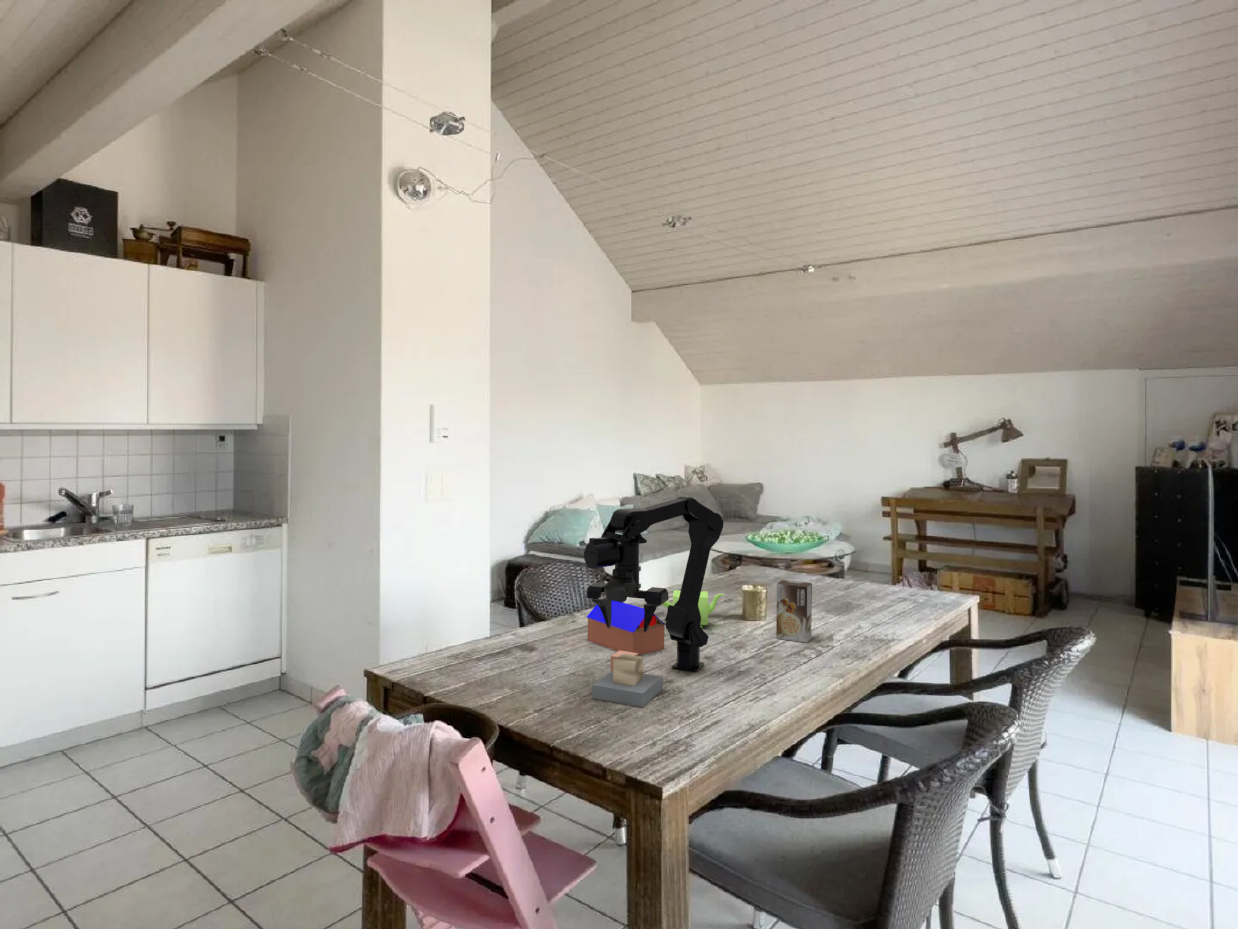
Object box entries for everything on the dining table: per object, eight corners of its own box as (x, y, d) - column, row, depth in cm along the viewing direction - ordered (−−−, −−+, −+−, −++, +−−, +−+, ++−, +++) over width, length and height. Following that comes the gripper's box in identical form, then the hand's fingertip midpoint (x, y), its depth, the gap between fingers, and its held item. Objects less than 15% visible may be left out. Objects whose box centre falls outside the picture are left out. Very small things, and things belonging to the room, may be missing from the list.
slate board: (614, 681, 170) (614, 669, 170) (662, 689, 165) (662, 676, 165) (591, 698, 159) (592, 684, 159) (642, 707, 154) (642, 693, 154)
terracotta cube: (618, 670, 178) (619, 650, 178) (637, 673, 176) (637, 653, 176) (610, 676, 174) (610, 656, 174) (629, 679, 172) (629, 659, 171)
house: (632, 657, 189) (633, 613, 189) (586, 640, 204) (586, 599, 204) (665, 649, 197) (666, 607, 196) (618, 633, 212) (619, 593, 212)
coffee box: (812, 638, 209) (813, 582, 208) (807, 643, 203) (808, 586, 203) (780, 633, 213) (782, 579, 213) (774, 638, 208) (776, 583, 207)
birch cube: (622, 675, 165) (622, 653, 165) (642, 678, 163) (642, 657, 163) (613, 682, 161) (613, 660, 160) (633, 685, 159) (634, 663, 158)
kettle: (724, 626, 221) (725, 589, 220) (692, 634, 211) (693, 596, 211) (688, 616, 232) (689, 581, 231) (656, 624, 223) (657, 587, 222)
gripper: (575, 567, 165) (576, 634, 166) (653, 573, 158) (653, 643, 159) (595, 558, 175) (596, 622, 176) (669, 564, 168) (669, 630, 169)
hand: (627, 629), depth 169 cm, fingers open, 9 cm apart
